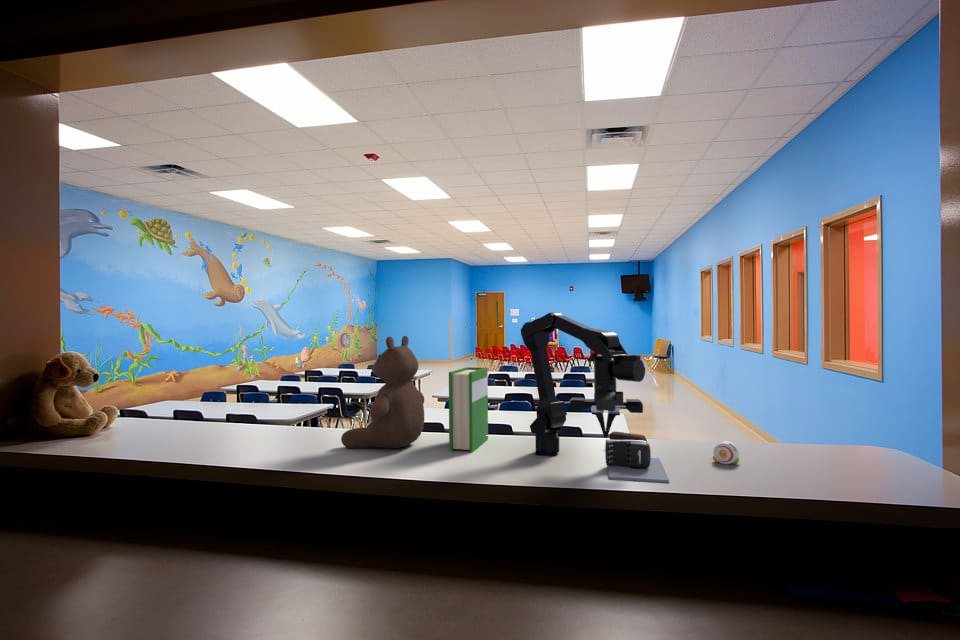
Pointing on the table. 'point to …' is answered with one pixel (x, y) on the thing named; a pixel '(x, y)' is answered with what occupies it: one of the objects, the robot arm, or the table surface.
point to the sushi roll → (726, 453)
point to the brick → (626, 436)
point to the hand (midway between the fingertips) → (605, 437)
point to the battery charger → (628, 453)
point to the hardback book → (468, 408)
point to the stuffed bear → (392, 403)
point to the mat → (640, 472)
